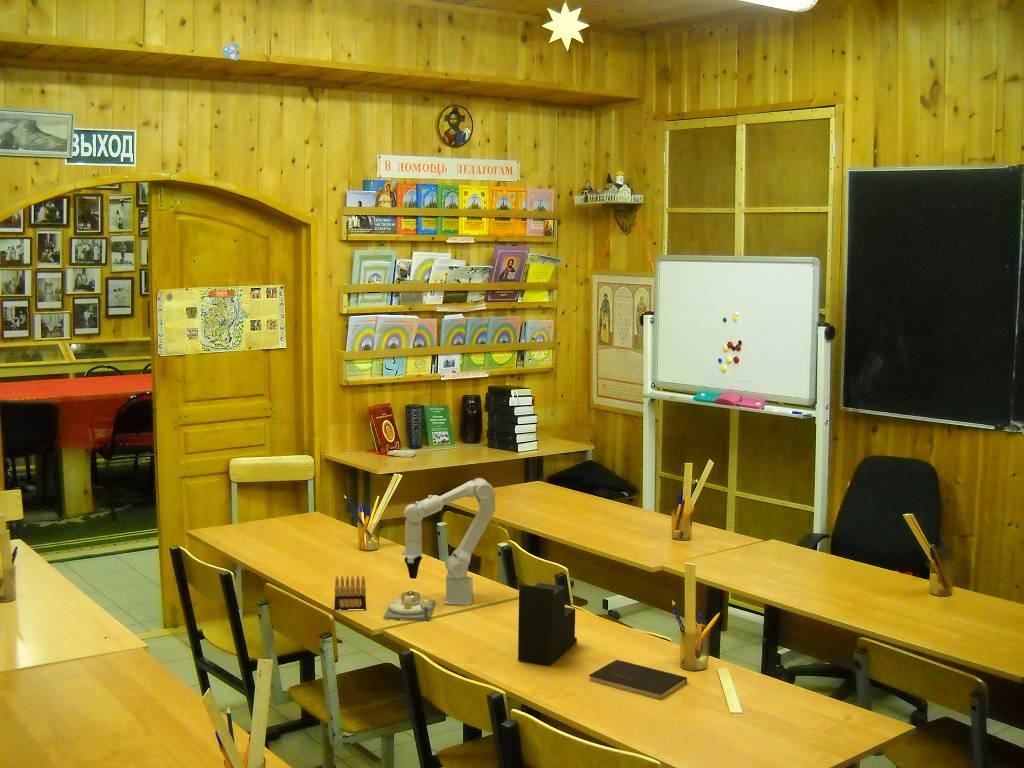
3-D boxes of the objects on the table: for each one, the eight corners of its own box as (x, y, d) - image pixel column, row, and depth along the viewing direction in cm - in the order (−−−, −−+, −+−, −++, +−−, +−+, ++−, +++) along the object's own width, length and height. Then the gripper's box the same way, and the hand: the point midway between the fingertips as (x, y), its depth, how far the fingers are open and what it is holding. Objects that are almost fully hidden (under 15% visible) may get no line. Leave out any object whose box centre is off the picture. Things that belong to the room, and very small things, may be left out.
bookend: (545, 637, 354) (546, 565, 351) (577, 642, 349) (579, 569, 347) (517, 661, 332) (517, 585, 330) (550, 667, 328) (552, 589, 325)
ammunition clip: (334, 611, 378) (334, 576, 376) (334, 609, 379) (334, 574, 378) (366, 610, 379) (365, 575, 377) (366, 608, 380) (366, 574, 379)
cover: (421, 600, 381) (421, 589, 381) (418, 606, 375) (418, 595, 374) (402, 600, 381) (402, 589, 381) (399, 605, 375) (399, 594, 374)
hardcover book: (660, 701, 305) (660, 693, 304) (588, 682, 318) (588, 674, 318) (687, 684, 317) (687, 676, 317) (617, 666, 331) (617, 658, 331)
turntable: (433, 601, 385) (433, 586, 384) (428, 614, 370) (428, 598, 370) (392, 600, 385) (392, 585, 385) (385, 613, 371) (385, 597, 370)
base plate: (435, 603, 387) (435, 600, 387) (428, 620, 368) (428, 618, 368) (392, 602, 388) (392, 599, 388) (383, 619, 369) (383, 616, 369)
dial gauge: (431, 619, 370) (431, 599, 369) (431, 620, 369) (431, 600, 368) (420, 619, 370) (420, 599, 369) (420, 620, 369) (420, 600, 368)
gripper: (404, 534, 390) (404, 571, 392) (398, 544, 376) (398, 583, 377) (424, 534, 390) (424, 572, 391) (419, 545, 375) (419, 584, 377)
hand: (413, 578), depth 384 cm, fingers closed
